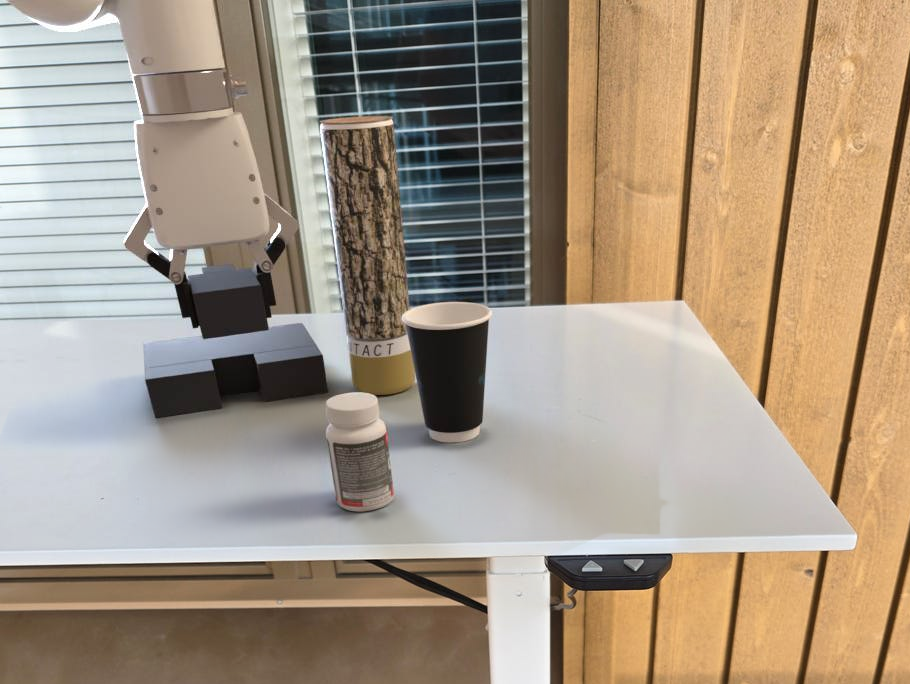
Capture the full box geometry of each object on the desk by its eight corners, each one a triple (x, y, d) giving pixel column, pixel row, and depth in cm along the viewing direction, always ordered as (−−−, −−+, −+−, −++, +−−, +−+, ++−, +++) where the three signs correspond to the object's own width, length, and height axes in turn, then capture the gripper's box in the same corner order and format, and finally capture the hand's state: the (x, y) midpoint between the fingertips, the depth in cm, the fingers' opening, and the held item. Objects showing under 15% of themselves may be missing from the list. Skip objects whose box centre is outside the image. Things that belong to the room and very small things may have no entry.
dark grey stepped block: (203, 339, 80) (192, 293, 78) (195, 311, 89) (186, 269, 87) (269, 330, 82) (260, 284, 80) (255, 303, 90) (247, 261, 88)
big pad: (155, 418, 91) (145, 379, 88) (152, 378, 102) (143, 343, 100) (328, 392, 95) (322, 354, 93) (307, 356, 106) (302, 322, 104)
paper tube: (374, 373, 99) (345, 116, 85) (427, 380, 97) (406, 115, 83) (341, 393, 94) (304, 123, 80) (395, 400, 92) (367, 122, 78)
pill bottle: (405, 500, 72) (395, 400, 67) (356, 518, 70) (342, 416, 65) (373, 482, 75) (361, 385, 70) (325, 500, 73) (309, 400, 68)
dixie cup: (513, 433, 83) (510, 312, 77) (443, 456, 79) (433, 330, 73) (464, 411, 88) (458, 296, 82) (396, 432, 85) (384, 313, 78)
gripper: (281, 88, 79) (314, 298, 89) (77, 105, 75) (137, 323, 85) (294, 91, 73) (328, 316, 83) (73, 109, 69) (137, 343, 79)
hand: (230, 317), depth 84 cm, fingers closed on dark grey stepped block, 6 cm apart
